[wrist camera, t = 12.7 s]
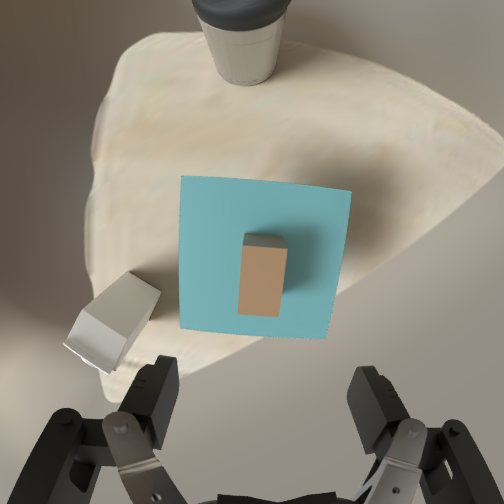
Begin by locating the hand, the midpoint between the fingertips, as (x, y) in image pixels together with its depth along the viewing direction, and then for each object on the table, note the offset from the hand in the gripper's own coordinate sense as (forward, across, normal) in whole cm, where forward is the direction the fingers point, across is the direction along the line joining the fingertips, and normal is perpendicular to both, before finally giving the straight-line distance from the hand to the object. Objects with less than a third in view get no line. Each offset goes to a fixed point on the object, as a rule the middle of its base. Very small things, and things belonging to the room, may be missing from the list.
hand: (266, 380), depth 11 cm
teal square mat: (+17, 0, 0) cm, 17 cm away
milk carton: (+32, +20, +13) cm, 40 cm away
